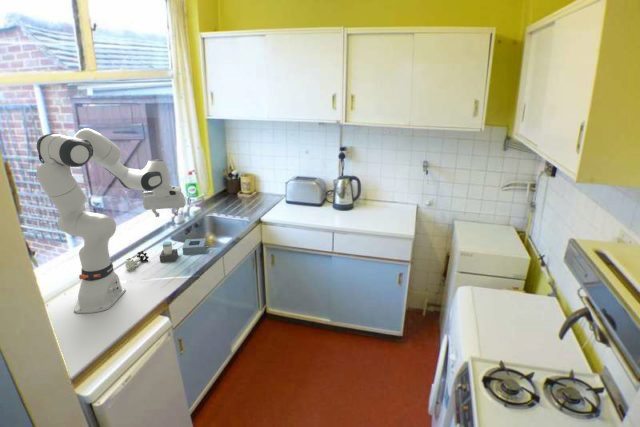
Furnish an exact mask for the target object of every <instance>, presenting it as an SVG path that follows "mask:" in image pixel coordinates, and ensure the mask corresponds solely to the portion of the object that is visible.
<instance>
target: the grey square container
mask: <svg viewBox="0 0 640 427" xmlns="http://www.w3.org/2000/svg"><path fill="white" fill-rule="evenodd" d="M172 249H173V255H164V250H163V249H162V250H161V252H160V254H159V260H160V261H159V262H160V263H168V262H169V263H171V262H176V261H177V258H178V256H179V253H178V248H172Z"/></svg>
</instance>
